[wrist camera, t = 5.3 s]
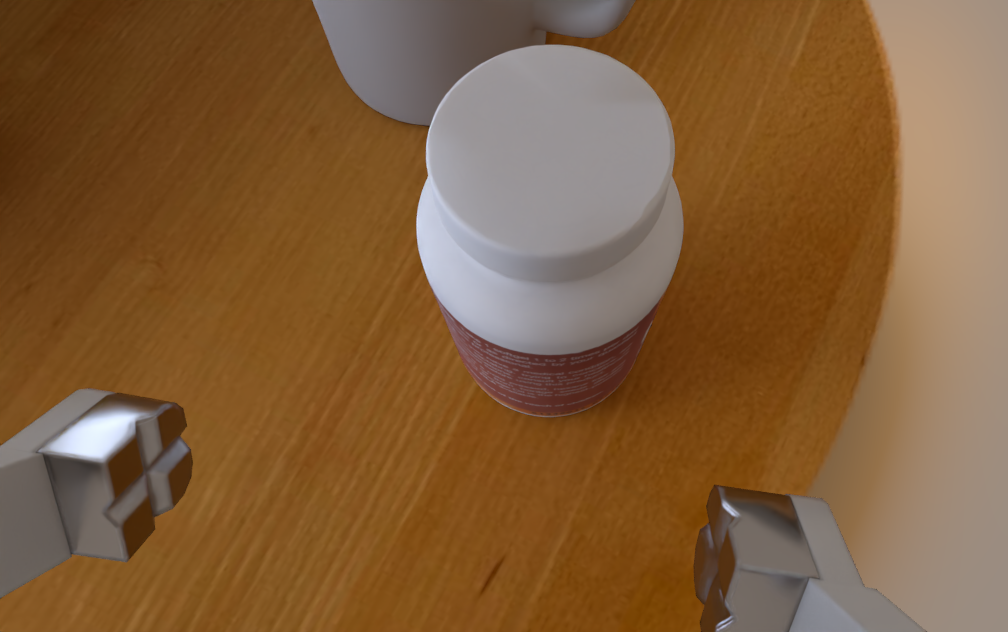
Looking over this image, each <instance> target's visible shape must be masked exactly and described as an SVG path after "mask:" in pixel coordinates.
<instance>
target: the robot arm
mask: <svg viewBox="0 0 1008 632" xmlns="http://www.w3.org/2000/svg"><path fill="white" fill-rule="evenodd" d="M186 427H187V423H186V418H185V414H184V409H183V408H182V407H181V406H179V405H178V404H177V403H174V402H169V401H163V400H157V399H151V398H146V397H140V396H134V395H129V394H123V393H114V392H109V391H103V390H97V389H91V388H87V389H81V390H77V391H75V392H74V393H73V394H71V395H70V396H68V397H67V398H66V399H64V400H63V401H62V402H60V403H59V404H57V405H56V406H55V407H53V408H52V409H51V410H49V411H48V412H47V413H45V414H44V415H42V416H41V417H40V418H38V419H37V420H36V421H34V422H33V423H31V424H30V425H29V426H27V427H26V428H25V429H23V430H22V431H20V432H19V433H18V434H16V435H15V436H14V437H12V438H11V439H10V440H8V441H7V442H5V443H4V444H3V445H1V446H0V598H2V597H3V596H5V595H7V594H8V593H10V592H12V591H14V590H15V589H17V588H19V587H21V586H22V585H24V584H26V583H28V582H29V581H31V580H33V579H35V578H36V577H38V576H40V575H41V574H43V573H45V572H47V571H48V570H50V569H52V568H54V567H55V566H57V565H59V564H61V563H62V562H64V561H66V560H67V559H69V558H71V557H72V556H71V554H74V555H81V556H88V557H95V558H102V559H109V560H116V561H123V562H128V560H129V559H130V558H131V557H132V556H133V555H134V553H135V552H136V551H137V550H138V549H139V548H140V546H141V545H142V544H143V543H144V542H145V541H146V539H147V538H148V537H149V536H150V535H151V534H152V532H153V531H154V530H155V517H156V516H158V515H160V514H163V513H165V512H167V511H169V510H171V509H173V508H174V507H175V505H176V504H177V503H178V502H179V500H180V499H181V498H182V497H183V496H184V494H185V491H186V489H187V486H188V484H189V482H190V479H191V476H192V466H193V460H192V453H191V449H190V448H189V447H188V445H187V444H186V443H185V442H184V441H183V439H182V438H181V437H180V435H181V434H182V432H183V431H184V430H185V428H186ZM706 508H707V514H708V519H709V523H708V524H707V525H706V526H704V527H703V528H701V529H700V531H699V535H698V539H697V544H696V548H695V558H694V584H695V592H696V596H697V598H698V599H699V600H700V601H701V602H702V603H703V604H704V609H703V612H702V616H701V620H700V627H701V632H927V631H926V630H924V629H923V628H922V627H921V626H919V625H918V624H917V623H916V622H915V621H913V620H912V619H911V618H910V617H909V616H907V615H906V614H905V613H904V612H903V611H902V610H901V609H899V608H898V607H897V606H896V605H894V604H893V603H892V602H891V601H890V600H889V599H887V598H886V597H885V596H884V595H882V593H880V592H879V591H878V590H877V589H873V588H866V587H865V586H864V584H863V582H862V580H861V577H860V575H859V573H858V570H857V568H856V566H855V564H854V561H853V559H852V557H851V555H850V552H849V550H848V548H847V545H846V543H845V541H844V539H843V536H842V534H841V532H840V530H839V527H838V525H837V523H836V521H835V518H834V517H833V514H832V511H831V509H830V507H829V505H828V503H827V502H826V501H824V500H823V499H822V498H815V497H807V496H799V495H791V494H785V495H782V494H775V493H769V492H762V491H755V490H748V489H741V488H734V487H728V486H721V485H714V486H713V488H712V490H711V492H710V494H709V498H708V501H707V505H706Z"/></svg>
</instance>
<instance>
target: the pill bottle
mask: <svg viewBox="0 0 1008 632" xmlns="http://www.w3.org/2000/svg"><path fill="white" fill-rule="evenodd" d="M674 159H675V142H674V135H673V130H672V125H671V121H670V118H669V116H668V114H667V111H666V109H665V107H664V105H663V104H662V102H661V100H660V99H659V97H658V96H657V94H656V93H655V91H654V90H653V89H652V88H651V86H650V85H649V84H648V83H647V82H646V81H645V80H644V79H643V78H642V77H640V76H639V75H638V74H637V73H635V72H634V71H633V70H631V69H630V68H629V67H627V66H626V65H624V64H623V63H621V62H619V61H617V60H615V59H613V58H612V57H610V56H608V55H605V54H602V53H599V52H596V51H592V50H589V49H585V48H581V47H576V46H566V45H536V46H529V47H524V48H520V49H515V50H511V51H508V52H505V53H503V54H500V55H498V56H495V57H493V58H491V59H489V60H487V61H485V62H483V63H481V64H480V65H478V66H477V67H475V68H474V69H473V70H471V71H470V72H468V73H467V74H466V75H464V76H463V77H462V78H461V79H460V80H459V81H458V82H457V83H456V84H455V85H454V86H453V87H452V88H451V89H450V91H449V92H448V93H447V94H446V95H445V97H444V98H443V100H442V101H441V103H440V104H439V106H438V108H437V110H436V112H435V114H434V117H433V119H432V122H431V125H430V128H429V132H428V136H427V144H426V165H427V171H428V178H427V180H426V182H425V185H424V187H423V190H422V193H421V197H420V201H419V204H418V212H417V224H416V227H417V242H418V249H419V253H420V257H421V261H422V264H423V267H424V270H425V273H426V276H427V279H428V282H429V284H430V287H431V289H432V291H433V293H434V296H435V298H436V300H437V302H438V304H439V307H440V309H441V312H442V314H443V316H444V318H445V321H446V323H447V326H448V328H449V330H450V333H451V335H452V337H453V340H454V342H455V344H456V347H457V349H458V352H459V354H460V357H461V359H462V361H463V363H464V365H465V367H466V369H467V370H468V372H469V373H470V375H471V376H472V377H473V379H474V380H475V381H476V383H477V384H478V385H479V386H480V387H481V388H482V389H483V390H484V391H485V392H486V393H487V394H488V395H489V396H491V397H492V398H493V399H495V400H496V401H498V402H499V403H501V404H502V405H504V406H506V407H508V408H510V409H513V410H515V411H518V412H521V413H524V414H527V415H533V416H539V417H559V416H567V415H571V414H575V413H578V412H581V411H584V410H587V409H589V408H591V407H593V406H595V405H596V404H598V403H600V402H601V401H603V400H604V399H605V398H607V397H608V396H609V395H610V394H612V393H613V392H614V391H615V390H616V389H617V388H618V387H619V385H620V384H621V383H622V382H623V381H624V379H625V378H626V376H627V375H628V373H629V372H630V370H631V369H632V367H633V365H634V363H635V361H636V358H637V356H638V354H639V352H640V349H641V347H642V344H643V342H644V340H645V337H646V335H647V333H648V331H649V329H650V327H651V326H652V321H653V320H654V317H655V315H656V313H657V310H658V308H659V305H660V303H661V301H662V299H663V297H664V295H665V292H666V290H667V288H668V286H669V283H670V281H671V278H672V276H673V273H674V271H675V268H676V265H677V262H678V259H679V255H680V251H681V246H682V240H683V228H684V227H683V213H682V204H681V200H680V196H679V193H678V190H677V187H676V184H675V182H674V179H673V177H672V171H673V165H674Z"/></svg>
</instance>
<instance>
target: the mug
mask: <svg viewBox="0 0 1008 632" xmlns="http://www.w3.org/2000/svg"><path fill="white" fill-rule="evenodd" d="M312 1H313V4H314V6H315V8H316V11H317V13H318V16H319V18H320V21H321V23H322V26H323V28H324V31H325V33H326V36H327V39H328V41H329V44H330V47H331V49H332V52H333V55H334V57H335V60H336V62H337V65H338V67H339V68H340V70H341V72H342V74H343V76H344V78H345V80H346V82H347V83H348V85H349V86H350V87H351V89H352V90H353V91H354V92H355V93H356V95H357V96H358V97H359V98H360V99H361V100H362V101H363V102H365V103H366V104H367V105H369V106H370V107H371V108H373V109H374V110H376V111H378V112H380V113H381V114H383V115H385V116H388V117H390V118H393V119H395V120H398V121H402V122H406V123H410V124H417V125H424V126H430V125H431V122H432V119H433V117H434V114H435V112H436V110H437V108H438V106H439V104H440V103H441V101H442V100H443V98H444V97H445V95H446V94H447V93H448V92H449V91H450V89H451V88H452V87H453V86H454V85H455V84H456V83H457V82H458V81H459V80H460V79H461V78H462V77H463V76H464V75H466V74H467V73H468V72H470V71H471V70H473V69H474V68H475V67H477V66H478V65H480V64H481V63H483V62H485V61H487V60H489V59H491V58H493V57H495V56H498V55H500V54H503V53H505V52H508V51H511V50H515V49H520V48H524V47H529V46H536V45H545V41H546V31H547V32H552V33H556V34H561V35H566V36H572V37H579V38H595V37H600V36H604V35H605V34H607V33H609V32H611V31H613V30H614V29H616V28H617V27H618V26H619V25H620V24H621V23H622V21H623V20H624V19H625V18H626V16H627V15H628V13H629V11H630V9H631V8H632V6H633V4H634V2H635V0H312Z"/></svg>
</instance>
